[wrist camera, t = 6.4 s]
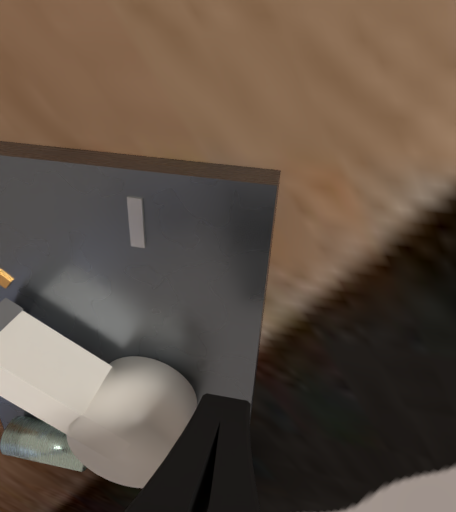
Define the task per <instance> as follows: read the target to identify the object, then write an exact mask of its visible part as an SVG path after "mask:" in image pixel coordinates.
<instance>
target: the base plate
mask: <svg viewBox="0 0 456 512" xmlns="http://www.w3.org/2000/svg"><path fill="white" fill-rule="evenodd" d="M279 180H280V171H279V170H270V169H260V168H251V167H241V166H232V165H222V164H212V163H203V162H193V161H184V160H174V159H165V158H155V157H146V156H136V155H126V154H117V153H107V152H98V151H88V150H79V149H69V148H60V147H50V146H40V145H31V144H21V143H12V142H2V141H0V302H1V301H2V300H3V299H5V298H7V299H9V300H10V301H12V302H14V303H15V304H17V305H18V306H20V307H22V308H23V311H24V312H26V313H28V314H29V315H31V316H32V317H34V318H36V319H37V320H39V321H40V322H42V323H44V324H45V325H47V326H48V327H50V328H52V329H53V330H55V331H56V332H58V333H60V334H61V335H63V336H64V337H66V338H68V339H69V340H71V341H72V342H74V343H76V344H77V345H79V346H80V347H82V348H84V349H85V350H87V351H88V352H90V353H92V354H93V355H95V356H96V357H98V358H100V359H101V360H103V361H104V362H106V363H108V364H109V363H111V362H112V361H114V360H116V359H119V358H122V357H128V356H140V357H147V358H151V359H155V360H157V361H160V362H163V363H165V364H167V365H169V366H170V367H172V368H174V369H175V370H177V371H178V372H179V373H180V374H182V375H183V376H184V377H185V378H186V379H187V380H188V382H189V383H190V384H191V386H192V388H193V389H194V392H195V394H196V398H197V406H198V404H199V402H200V400H201V398H202V396H203V395H204V394H206V393H208V394H213V395H219V396H225V397H230V398H236V399H241V400H247V401H248V402H249V403H250V404H251V408H250V420H251V411H252V403H253V395H254V386H255V378H256V370H257V362H258V353H259V345H260V337H261V329H262V320H263V312H264V304H265V295H266V287H267V279H268V271H269V262H270V254H271V246H272V238H273V229H274V221H275V213H276V204H277V196H278V188H279ZM0 419H1V422H2V425H3V427H4V432H3V435H2V438H1V442H0V450H1V452H2V454H4V455H9V456H13V457H18V458H22V459H27V460H31V461H36V462H40V463H45V464H49V465H54V466H58V467H62V468H67V469H71V470H76V471H80V472H83V471H84V470H86V468H87V467H86V466H84V465H83V464H82V463H81V462H80V461H79V460H78V459H77V458H76V456H75V455H74V454H73V452H72V451H71V449H70V447H69V445H68V442H67V435H66V434H65V433H63V432H61V431H60V430H58V429H56V428H54V427H53V426H51V425H49V424H47V423H46V422H44V421H42V420H41V419H39V418H37V417H35V416H34V415H32V414H30V413H29V412H27V411H25V410H23V409H22V408H20V407H18V406H17V405H15V404H13V403H11V402H10V401H8V400H6V399H4V398H3V397H1V396H0Z"/></svg>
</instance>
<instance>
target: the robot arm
mask: <svg viewBox="0 0 456 512" xmlns="http://www.w3.org/2000/svg"><path fill="white" fill-rule="evenodd" d="M250 408H251V404H250V403H249V402H248V401H247V400H241V399H236V398H230V397H225V396H219V395H213V394H208V393H206V394H204V395H203V396H202V398H201V400H200V402H199V404H198V406H197V408H196V410H195V412H194V414H193V415H192V417H191V419H190V421H189V422H188V424H187V426H186V427H185V429H184V431H183V432H182V434H181V435H180V437H179V438H178V440H177V441H176V443H175V444H174V446H173V447H172V449H171V450H170V452H169V453H168V455H167V456H166V458H165V459H164V461H163V462H162V463H161V465H160V466H159V467H158V469H157V470H156V472H155V473H154V474H153V476H152V477H151V478H150V480H149V481H148V482H147V484H146V485H145V486H144V488H143V489H142V490H141V491H140V493H139V494H138V495H137V496H136V498H135V499H134V500H133V501H132V502H131V504H130V505H129V506H128V507H127V508H126V510H125V511H124V512H207V511H208V512H261V511H260V506H259V501H258V495H257V489H256V483H255V476H254V469H253V462H252V453H251V442H250Z"/></svg>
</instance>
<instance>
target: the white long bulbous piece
mask: <svg viewBox="0 0 456 512" xmlns="http://www.w3.org/2000/svg"><path fill="white" fill-rule="evenodd" d="M0 396H1V397H3V398H4V399H6V400H8V401H10V402H11V403H13V404H15V405H17V406H18V407H20V408H22V409H23V410H25V411H27V412H29V413H30V414H32V415H34V416H35V417H37V418H39V419H41V420H42V421H44V422H46V423H47V424H49V425H51V426H53V427H54V428H56V429H58V430H60V431H61V432H63V433H65V434H66V435H67V442H68V445H69V447H70V449H71V451H72V452H73V454H74V455H75V456H76V458H77V459H78V460H79V461H80V462H81V463H82V464H83V465H84V466H86V467H87V468H88V469H90V470H91V471H92V472H94V473H96V474H97V475H99V476H101V477H103V478H105V479H107V480H109V481H112V482H114V483H117V484H121V485H124V486H129V487H135V488H144V486H145V485H146V484H147V482H148V481H149V480H150V478H151V477H152V476H153V474H154V473H155V472H156V470H157V469H158V467H159V466H160V465H161V463H162V462H163V461H164V459H165V458H166V456H167V455H168V453H169V452H170V450H171V449H172V447H173V446H174V444H175V443H176V441H177V440H178V438H179V437H180V435H181V434H182V432H183V431H184V429H185V427H186V426H187V424H188V422H189V421H190V419H191V417H192V415H193V414H194V412H195V410H196V408H197V398H196V394H195V392H194V389H193V388H192V386H191V384H190V383H189V382H188V380H187V379H186V378H185V377H184V376H183V375H182V374H180V373H179V372H178V371H177V370H175V369H174V368H172V367H170V366H169V365H167V364H165V363H163V362H160V361H157V360H155V359H151V358H147V357H140V356H128V357H122V358H119V359H116V360H114V361H112V362H111V363H109V364H108V363H106V362H104V361H103V360H101V359H100V358H98V357H96V356H95V355H93V354H92V353H90V352H88V351H87V350H85V349H84V348H82V347H80V346H79V345H77V344H76V343H74V342H72V341H71V340H69V339H68V338H66V337H64V336H63V335H61V334H60V333H58V332H56V331H55V330H53V329H52V328H50V327H48V326H47V325H45V324H44V323H42V322H40V321H39V320H37V319H36V318H34V317H32V316H31V315H29V314H28V313H26V312H24V311H23V308H22V307H20V306H18V305H17V304H15V303H14V302H12V301H10V300H9V299H7V298H5V299H3V300H2V301H1V302H0Z"/></svg>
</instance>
